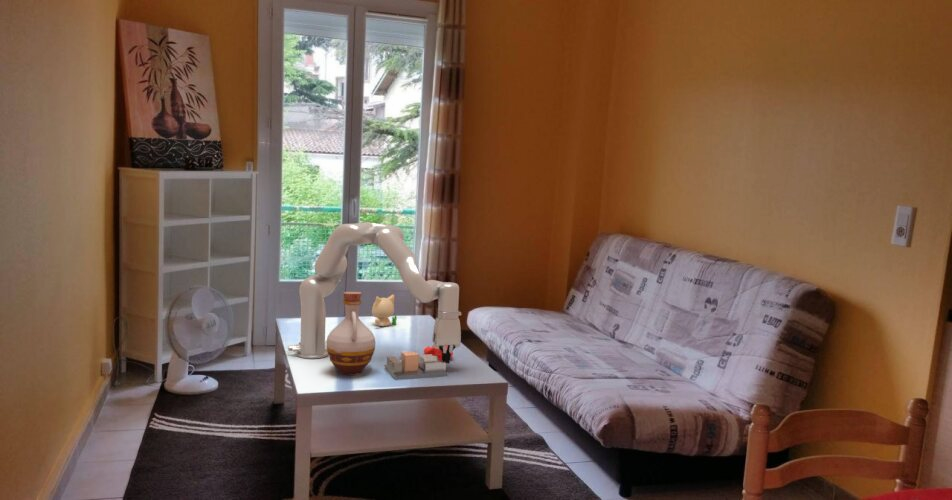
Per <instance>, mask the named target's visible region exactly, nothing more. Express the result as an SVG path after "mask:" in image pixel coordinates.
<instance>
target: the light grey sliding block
mask: <svg viewBox="0 0 952 500" xmlns="http://www.w3.org/2000/svg"><path fill="white" fill-rule="evenodd" d="M418 355H419V361H418V365H419V366H420V367H421V368H422V369H423V370H424V363H431V362H437V358H436V357H434V356H433V355H432V354H426V355H425V354H418Z"/></svg>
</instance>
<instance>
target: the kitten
mask: <svg viewBox="0 0 952 500" xmlns="http://www.w3.org/2000/svg"><path fill="white" fill-rule="evenodd" d="M374 300H375V301H374V302H373V303H372V307H371V315H372V316H373V317H374V318H375V320H374V322H375V324H376V325H377V326H379V327H388V326H389V325H390V324H392V325H393V326H396V325H397V315H396V314H394V313H395V294H391V295H390V296H388V297H379V296H378V295H376V297H375V299H374ZM391 317H392V321H391V320H390V319H389V318H391Z"/></svg>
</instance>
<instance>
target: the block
mask: <svg viewBox="0 0 952 500" xmlns="http://www.w3.org/2000/svg"><path fill="white" fill-rule="evenodd" d="M419 355H420V354H418V353H417V352H416V351H414V350H413V351H412V350H411V351H401V356H400V357H401V358H400V361H401V362H402V369H403V370H404V371H417V370H418V358H419Z"/></svg>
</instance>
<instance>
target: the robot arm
mask: <svg viewBox="0 0 952 500" xmlns="http://www.w3.org/2000/svg"><path fill="white" fill-rule="evenodd" d="M404 240H405V235H404V231H403V230H402V229H401V228H400V227H398V226H397V225H393V224H383V223H377V222H371V221H370V222H369V221H365V222H358V223H343V224H340V225H338V226H337V227H335V228H334V229H333V231H332V232H331V234H330V236H329V238H328V239H327V242H326V243H324V246H323V248H322V250H321V251H320V253H319V255H318V257H317V258H316V260H315V263H314V271H315V273H316V274H315V275H311V276H308V277H307V278H305V279H304V280H303V281H302V282H301V283H300V285H299V290H298V292H299V298H300V299H299V300H300V342H298V344H296V345H288V346H287V349H288V351H289V352H290V351H292V352H296V353H295V355H296V356H297V357H298V358H302V359H322V358H326V357H329V355H328V352H327V349H326V321H327V320H326V319H327V318H326V317H327V315H326V314H327V313H326V311H327V310H326V309H327V308H326V303H325V298H326V297H328V296H330V295H331V294H333V292H334V291H335V290H336V288H337V286H338V285H339V283H340V281H341V279H342V277H343V275H344V274H345V272H346V270H347V267H348V260H347V257H346V254H347V252H348V250H349V247H350V246H362V245H367V244H370V245H377V246H378V247H379V248H380V250H381V251H382V252H383V254H384V255H386V256H387V258H388V259H389V261H391V263H392V264H393V266H394V267H395V268H396V269H397V271H398V274H399V276H400V279H401V280H402V282H403V284H404V286H405V287H406V289H407V290H408V291H409V292H410V293H411V295H412V296H413V297H414V299H416V301H418V302H420V303H422V304H428V303H430V302H432V301H434V300H438V306H437V311H438V312H437V317H436V318H435V321H434V324H433V331H432V343H433V344H432V346H433V347H434V348H436V349H440V350H441V351H442V361H441V362H446V365H448V364H450V363H451V362H450V361H451V358H452V357H451V353H452V352H453V351H454V350H455V349H457V348H460V347H461V339H462V336H461V335H462V331H461V330H462V329H461V321H460V318H459V316H462V312H461V311H460V310H459V300H460V298H459V297H460V286H459V284H458V283H456V282H452V281H451V282H450V281H448V282H447V281H445V282H444V281H440V280H435V279H429V280H426V279H425V277H423V276H422V274H421V273H420V272H419V269H418V268H417V262H416V261H417V260H416V259H417V258H416V255H415V253H414V252H413V251H412V249H410V247H409V246H408V245H407V244H406V243H405V241H404ZM446 345H447V350H446Z"/></svg>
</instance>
